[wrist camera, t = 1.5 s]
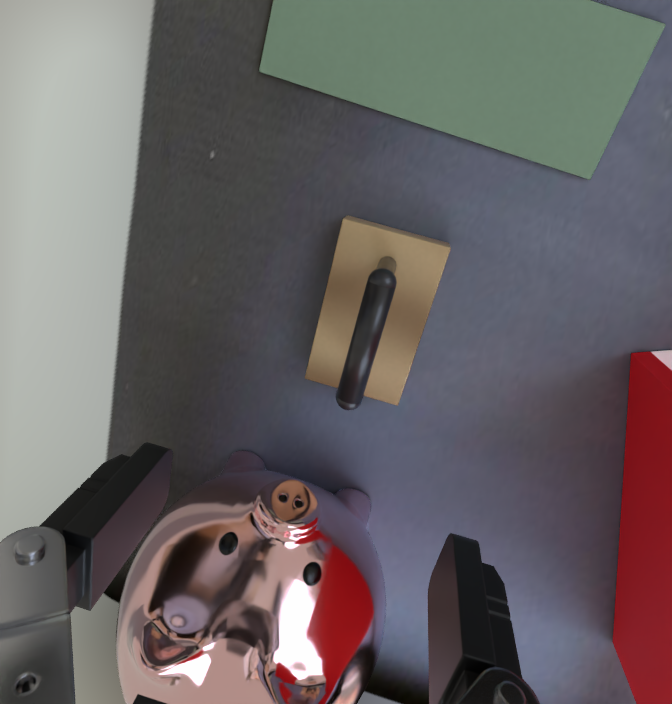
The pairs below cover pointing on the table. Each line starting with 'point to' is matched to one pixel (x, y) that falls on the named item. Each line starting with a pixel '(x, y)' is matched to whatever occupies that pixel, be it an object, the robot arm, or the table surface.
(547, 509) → the table surface
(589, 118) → the mat
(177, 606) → the piggy bank
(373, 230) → the birch board
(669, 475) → the miniature room diorama
